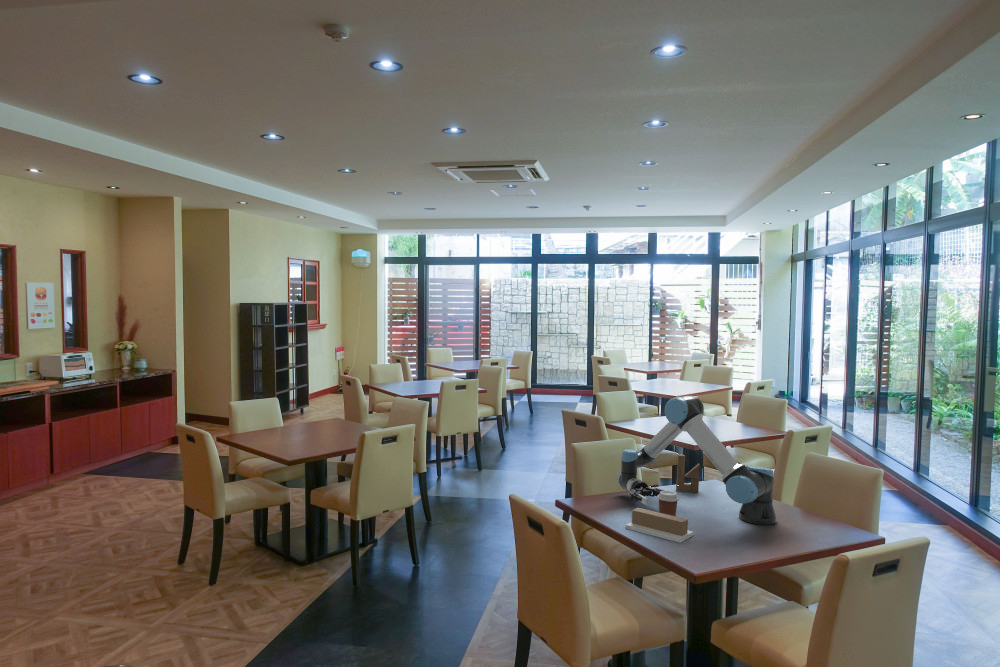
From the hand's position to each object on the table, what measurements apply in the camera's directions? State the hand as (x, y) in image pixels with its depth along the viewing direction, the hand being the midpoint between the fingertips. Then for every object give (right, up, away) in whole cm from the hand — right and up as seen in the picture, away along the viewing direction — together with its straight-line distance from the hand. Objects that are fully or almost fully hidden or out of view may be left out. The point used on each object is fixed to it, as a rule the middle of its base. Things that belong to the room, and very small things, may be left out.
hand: (660, 500), depth 284 cm
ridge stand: (-6, -7, -20) cm, 22 cm away
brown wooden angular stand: (+24, -6, +43) cm, 50 cm away
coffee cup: (+2, -7, -5) cm, 9 cm away
